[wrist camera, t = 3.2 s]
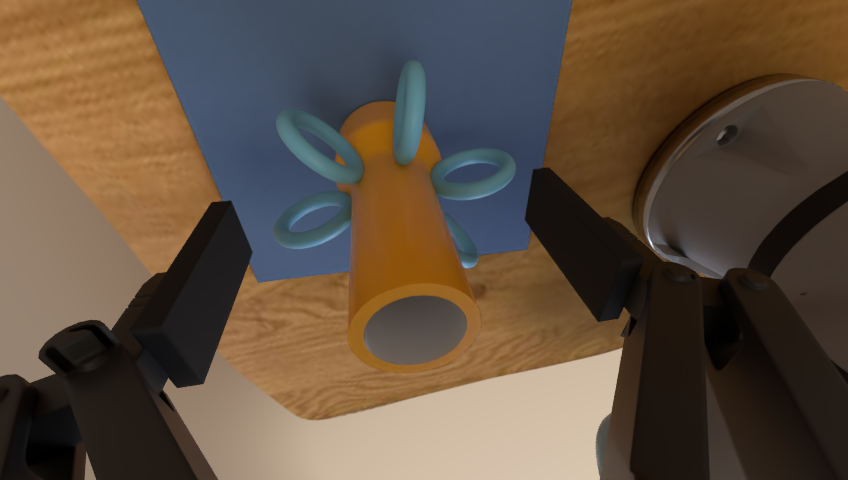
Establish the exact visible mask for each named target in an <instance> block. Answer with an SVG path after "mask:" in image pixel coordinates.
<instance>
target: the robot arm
mask: <svg viewBox="0 0 848 480" xmlns="http://www.w3.org/2000/svg"><path fill="white" fill-rule="evenodd" d="M633 218H634V224H635V227H636V230H637V232H638V234H639V236H640V237H641V238H642V239H643V240H644V241H645V242H646V243H647V244H648V245H649V246H650V247H651V248H652V249H654V250H655V251H656V252H657V253H658V254H659V255H661V256H662V257H663V258H665V259H668V260H670V261H673V262H663V261H662V260H661V259H660V258H659V257H658V256H657V255H656V254H654V253H653V252H652V251H651V250H650V249H649V248H648V247H647V246H646V245H644V244H643V243H642V242H641V241H640V240H637V237H636V236H634V235H633V234H632V233H630V231H629V230H628V229H627V228H626V227H624V226H623V225H622V224H621V223H619V222H617V221H615V220H613V219H611V218H609V217H605V218H602V217H601V216H600V215H599V214H598V213H597V212H595V211H594V210H593V209H592V208H591V207H590V206H589V205H588V204H587V203H586V202H585V201H584V200H583V199H582V198H581V197H580V196H579V195H577V194H576V193H575V192H574V191H573V190H572V189H571V188H570V187H569V186H568V185H567V184H566V183H565V182H564V181H563V180H562V179H561V178H560V177H558V176H557V175H556V174H555V173H554V172H553V171H552V170H551V169H550V168H539V169H533V172H532V178H531V184H530V190H529V196H528V202H527V208H526V214H525V221H526V223H527V224H528V225H529V227H530V228H531V229H532V231H533V232H534V234H535V235H536V236H537V238H538V239H539V241H540V242H541V243H542V245H543V246H544V248H545V249H546V250H547V252H548V253H549V254H550V256H551V257H552V259H553V260H554V261H555V263H556V264H557V266H558V267H559V268H560V270H561V271H562V273H563V274H564V275H565V277H566V278H567V279H568V281H569V282H570V284H571V285H572V286H573V288H574V289H575V291H576V292H577V293H578V295H579V296H580V297H581V299H582V300H583V302H584V303H585V304H586V306H587V307H588V309H589V310H590V311H591V313H592V314H593V316H594V317H595V318H596V320H597V321H598V322H600V321H607V320H613V319H618V318H619V316H620V314H621V312H622V309H623V307H625V308H626V310H627V311H628V312H629V313H630V314H631V315H630V317H629V320H628V322H627V324H626V326H625V328H624V330H623V332H622V334H621V336H622V337H625V339H624V344H623V350H622V356H621V361H620V367H619V374H618V379H617V385H616V390H615V396H614V402H613V407H612V413H611V414H609V415H608V416H607V417H606V418H605V419H604V420H603V421H602V423H601V424H600V426H599V429H598V432H597V437H596V457H597V465H598V470H599V475H600V480H848V92H847V91H845V90H844V89H842V88H841V87H840V86H838V85H836V84H834V83H831V82H827V81H823V80H818V79H813V78H809V77H804V76H799V75H791V74H779V75H771V76H766V77H762V78H758V79H755V80H752V81H749V82H746V83H744V84H742V85H739V86H737V87H735V88H733V89H731V90H729V91H727V92H725V93H723V94H722V95H720V96H718V97H717V98H715V99H714V100H712V101H711V102H709V103H708V104H706V105H705V106H703V107H702V108H701V109H699V110H698V111H697V112H696V113H694V114H693V115H692V116H691V117H690V118H688V119H687V120H686V121H685V122H684V123H683V124H682V125H681V126H680V127H679V128H678V129H677V130H676V131H675V132H674V133H673V134H672V135H671V136H670V137H669V138H668V139H667V141H666V142H665V143H664V144H663V145H662V147H661V148H660V149H659V151H658V152H657V153H656V155H655V156H654V158H653V159H652V161H651V162H650V164H649V166H648V167H647V169H646V171H645V173H644V175H643V177H642V179H641V181H640V184H639V186H638V189H637V192H636V196H635V200H634V207H633ZM252 253H253V251H252V249H251V247H250V244H249V242H248V239H247V237H246V235H245V232H244V230H243V227H242V225H241V223H240V220H239V218H238V216H237V213H236V211H235V208H234V206H233V204H232V201H231V200H230V201H221V202H212V203H211V204H210V206H209V207H208V209H207V210H206V212H205V214H204V215H203V217H202V218H201V220H200V221H199V223H198V224H197V226H196V227H195V229H194V230H193V232H192V234H191V235H190V237H189V238H188V240H187V241H186V243H185V244H184V246H183V247H182V249H181V251H180V252H179V254H178V255H177V257H176V258H175V260H174V261H173V263H172V264H171V266H170V267H169V269H168V271H167V272H164V273H157V274H155V275H154V276H153V277H152V278H151V279H149V280H148V281H147V282H146V283H144V284H143V285H142V287H141V288H140V290H139V291H138V293H137V294H136V296H135V298H134V299H133V300H132V301H131V303H130V304H129V305H128V308H126V310H125V311H124V313H123V314H122V315H121V317H120V318H119V320H118V321H117V323H116V324H115V325H114V327H113V328H112V330H111V331H110V330H109V329H108V327H107V326H106V325H105V324H104V323H102V322H101V321H98V320H88V321H84V322H79V323H77V324H74V325H72V326H69V327H67V328H65V329H64V330H62V331H60V332H59V333H57V334H55V335H54V336H53V337H52V338H50V339H49V340H48V341H47V342H46V343H45V344H44V346H43V347H42V348H41V350H40V351H39V359H40V360H41V361H42V362H43V363H44V364H46V365H47V366H48V367H49V368H50V369H51V370H53V371H54V372H55V373H56V374H54V375H51V376H48V377H45V378H43V379H40V380H37V381H34V382H32V383H29V382H27V381H26V380H25V379H24V378H22V377H20V376H19V375H16V374H14V375H5V376H1V377H0V480H84V477H85V463H86V451H87V454H88V457H89V460H90V463H91V466H92V468H93V471H94V474H95V477H96V480H218V479H217V477H216V476H215V474H214V472H213V470H212V469H211V467H210V465H209V464H208V462H207V460H206V459H205V457H204V455H203V454H202V452H201V450H200V449H199V447H198V445H197V444H196V442H195V440H194V439H193V437H192V435H191V434H190V432H189V430H188V429H187V427H186V425H185V424H184V422H183V420H182V419H181V417H180V415H179V414H178V412H177V410H176V409H175V407H174V405H173V404H172V402H171V400H170V399H169V397H168V396H167V394H166V393H165V392H164V391H163V387H164V385H165V383H166V381H167V379H168V378H169V379H170V380H171V381H172V382H173V384H174V385H175V386H176V387H177V388H181V387H187V386H194V385H200V384H203V383H204V381H205V378H206V376H207V373H208V371H209V368H210V365H211V363H212V360H213V357H214V355H215V352H216V349H217V347H218V344H219V341H220V339H221V336H222V333H223V331H224V328H225V325H226V323H227V320H228V317H229V315H230V312H231V309H232V307H233V304H234V301H235V299H236V296H237V293H238V291H239V288H240V285H241V283H242V280H243V277H244V275H245V272H246V269H247V267H248V264H249V261H250V259H251V256H252ZM674 262H675V263H674ZM693 270H694V271H693ZM695 271H697V272H699V273H702V274H704V275H707V276H709V277H711V278H706V277H700V276H699V275H698V274H697V273H696V272H695Z"/></svg>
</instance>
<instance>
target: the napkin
mask: <svg viewBox="0 0 848 480" xmlns="http://www.w3.org/2000/svg"><path fill="white" fill-rule="evenodd" d="M137 3H138V5H139V7H140V10H141V12H142V14H143V17H144V19H145V21H146V24H147V26H148V28H149V31H150V33H151V35H152V37H153V40H154V42H155V44H156V47H157V49H158V51H159V54H160V56H161V58H162V61H163V63H164V65H165V68H166V70H167V72H168V75H169V77H170V79H171V82H172V84H173V86H174V89H175V91H176V93H177V96H178V98H179V100H180V103H181V105H182V107H183V110H184V112H185V114H186V116H187V119H188V121H189V123H190V126H191V128H192V130H193V133H194V135H195V137H196V140H197V142H198V144H199V147H200V149H201V151H202V154H203V156H204V158H205V161H206V163H207V165H208V168H209V170H210V172H211V175H212V177H213V179H214V182H215V184H216V186H217V189H218V191H219V193H220V195H221V198H222V200H223V201H230V200H231V201H232V204H233V206H234V208H235V211H236V213H237V216H238V218H239V220H240V223H241V225H242V227H243V230H244V232H245V235H246V237H247V239H248V242H249V244H250V247H251V249H252V251H253V253H252V256H251V259H250V261H249V263H250V265H251V267H252V270H253V272H254V274H255V277H256V279H257V281H258V282H266V281H274V280H282V279H290V278H298V277H306V276H314V275H322V274H331V273H339V272H347V271H350V247H351V224H350V225H349V226H348V227H347V228H346V229H345V230H344V231H343V232H342V233H340V234H339V235H337V236H336V237H334V238H333V239H331V240H329V241H327V242H325V243H322V244H320V245H317V246H313V247H309V248H304V249H291V248H286V247H284V246H282V245H280V244H279V243H278V242H277V241H276V240H275V238H274V236H273V227H274V224H275V222H276V220H277V219H278V218H279V216H280V215H281V214H282V213H283V212H284V211H285V210H286V209H288V208H289V207H290V206H292V205H293V204H295V203H297V202H298V201H300V200H302V199H304V198H306V197H309V196H312V195H314V194H318V193H322V192H328V191H339V190H338V187H337V185H336V182H334V181H332V180H329V179H327V178H325V177H323V176H322V175H320V174H318V173H317V172H315V171H313V170H312V169H311V168H309V167H308V166H307V165H305V164H304V163H303V162H302V161H300V160H299V159H298V158H297V157H296V156H295V155H294V154H293V153H292V152H291V151H290V150H289V148H288V147H287V146H286V145H285V143H284V142H283V141H282V139H281V137H280V135H279V133H278V131H277V127H276V119H277V116H278V115H279V113H280V112H282V111H283V110H286V109H298V110H302V111H305V112H307V113H310V114H312V115H314V116H316V117H317V118H319V119H321V120H322V121H324V122H325V123H327V124H328V125H330V126H331V127H332V128H334V129H335V130H336V131H337V132H338V133H340V130H341V127H342V125H343V124H344V122H345V120H346V119H347V118H348V117H349V115H350V114H351V113H353V112H354V111H355V110H356V109H358V108H360V107H361V106H363V105H365V104H368V103H371V102H375V101H393V102H396V95H397V89H398V84H399V79H400V75H401V71H402V69H403V67H404V65H405V64H406V63H407V62H408V61H410V60H417V61H418V62H420V63H421V64H422V66H423V68H424V71H425V77H426V101H425V113H424V122H425V124H426V125H427V127H428V129H429V131H430V133H431V135H432V137H433V139H434V141H435V143H436V145H437V147H438V149H439V152H440V155H441V159H442V160H443V159H444V158H446V157H448V156H450V155H452V154H455V153H457V152H461V151H464V150H469V149H475V148H493V149H498V150H501V151H504V152H506V153H508V154H509V155H510V156H511V157H512V158H513V159H514V161H515V164H516V171H515V175H514V177H513V178H512V180H511V181H510V182H509V183H508V184H507V185H506V186H505V187H504V188H502V189H501V190H499V191H497V192H495V193H493V194H491V195H488V196H485V197H482V198H478V199H472V200H451V199H446V198H443V197H441V196H439V195H437V194H436V195H437V197H438V200H439V203H440V206H441V208H442V211H444V212H445V213H446V214H448V215H449V216H450V217H452V218H453V219H454V220H455V221H456V222H457V223H458V224H459V225H460V226H461V227H462V228H463V229H464V231H465V232H466V233H467V234H468V236H469V237H470V238H471V240H472V241H473V243H474V245H475V246H476V249H477V251H478V255H485V254H493V253H501V252H509V251H517V250H525V249H527V248H528V243H529V237H530V232H531V228H530V227H529V225H528V224H527V223H526V221H525V214H526V208H527V202H528V196H529V190H530V184H531V178H532V172H533V169H539V168H542V166H543V160H544V154H545V149H546V143H547V138H548V132H549V127H550V121H551V116H552V110H553V105H554V99H555V94H556V88H557V83H558V77H559V72H560V66H561V61H562V55H563V50H564V44H565V38H566V33H567V27H568V22H569V16H570V11H571V5H572V0H137ZM298 129H299V130H300V132H301V133H302V134H303V136H304V137H305V138H306V139H307V140H308V141H309V142H310V143H311V144H312V145H313V146H314V147H315V148H317V149H318V150H319V151H320V152H322V153H323V154H324V155H326V156H327V157H329V158H330V159H332V160H334V161H335V156H336V151H335V150H334V149H332V148H331V147H330V146H329V145H328V144H327V143H325V142H324V141H323V140H321V139H320V138H318V137H317V136H315V135H314V134H312V133H310V132H308V131H306V130H303V129H301V128H298ZM498 169H499V167H498V166H496V165H493V164H489V163H475V164H469V165H465V166H462V167H459V168H457V169H455V170H453V171H451V172H450V173H448V174H447V175H446V176H445V178H444V180H446V181H448V182H451V183H470V182H475V181H479V180H482V179H485V178H487V177H489V176H491V175H493V174H494V173H496V172H497V171H498ZM340 210H341V207H340V206H326V207H322V208H319V209H316V210H314V211H311V212H309V213H307V214H306V215H304V216H303V217H301V218H300V219H298V220H297V221H296V222H295V223H294V224H293V226H292V227H291V229H290V231H291V232H303V231H308V230H311V229H314V228H316V227H319V226H321V225H323V224H325V223H326V222H328V221H329V220H331V219H332V218H333V217H335V216H336V215H337V214H338V213H339V211H340ZM452 238H453V236H452ZM453 241H454V244H455V246H456V247H458V248H459V249H460V250H462V248H461V247H460V245H459V244H458V243H457V241H456V240H455V239H454V238H453ZM462 251H463V250H462Z"/></svg>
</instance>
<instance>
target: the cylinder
mask: <svg viewBox="0 0 848 480" xmlns="http://www.w3.org/2000/svg"><path fill="white" fill-rule="evenodd" d="M425 101H426V77H425V71H424V68H423V66H422V64H421V63H420V62H418V61H417V60H410V61H408V62H407V63H406V64H405V65H404V67H403V69H402V71H401V75H400V79H399V84H398V89H397V95H396V102H393V101H375V102H371V103H368V104H365V105H363V106H361V107H360V108H358V109H356V110H355V111H354V112H353V113H351V114H350V115H349V117H348V118H347V119H346V120H345V122H344V124H343V125H342V127H341V130H340V133H338V132H337V131H336V130H335V129H334V128H332V127H331V126H330V125H328V124H327V123H325V122H324V121H322V120H321V119H319V118H317V117H316V116H314V115H312V114H310V113H307V112H305V111H302V110H298V109H286V110H283V111H282V112H280V113H279V115H278V116H277V119H276V127H277V131H278V133H279V135H280V137H281V139H282V141H283V142H284V143H285V145H286V146H287V147H288V148H289V150H290V151H291V152H292V153H293V154H294V155H295V156H296V157H297V158H298V159H299V160H300V161H302V162H303V163H304V164H305V165H307V166H308V167H309V168H311V169H312V170H313V171H315V172H317V173H318V174H320V175H322V176H323V177H325V178H327V179H329V180H332V181H334V182H336V185H337V187H338V190H339V191H328V192H322V193H318V194H314V195H312V196H309V197H306V198H304V199H302V200H300V201H298V202H297V203H295V204H293V205H292V206H290V207H289V208H288V209H286V210H285V211H284V212H283V213H282V214H281V215H280V216H279V218H278V219H277V220H276V222H275V224H274V227H273V236H274V238H275V240H276V241H277V242H278V243H279V244H280V245H282V246H284V247H286V248H291V249H304V248H309V247H313V246H317V245H320V244H322V243H325V242H327V241H329V240H331V239H333V238H334V237H336V236H337V235H339V234H340V233H342V232H343V231H344V230H345V229H346V228H347V227H348V226H349V225H350V224H351V247H350V281H349V314H348V342H349V345H350V348H351V350H352V351H353V353H354V354H355V355H356V357H357V358H359V359H360V360H361V361H362V362H364V363H365V364H367V365H369V366H371V367H373V368H376V369H379V370H382V371H387V372H393V373H414V372H421V371H426V370H430V369H434V368H437V367H439V366H442V365H444V364H447V363H449V362H451V361H452V360H454V359H456V358H457V357H459V356H460V355H461V354H463V353H464V352H465V351H466V350H467V349H468V348H469V347H470V346H471V345H472V344H473V343H474V341H475V340H476V338H477V336H478V334H479V331H480V328H481V314H480V311H479V308H478V305H477V303H476V300H475V297H474V295H473V292H472V289H471V286H470V284H469V281H468V278H467V276H466V273H465V270H464V268H472V267H474V266H475V265H476V264H477V263H478V260H479V255H478V251H477V249H476V246H475V245H474V243H473V241H472V240H471V238H470V237H469V236H468V234H467V233H466V232H465V231H464V229H463V228H462V227H461V226H460V225H459V224H458V223H457V222H456V221H455V220H454V219H453V218H452V217H450V216H449V215H448V214H446V213H445V212H444V211H442V208H441V206H440V203H439V200H438V197H437V195H439V196H441V197H443V198H446V199H451V200H472V199H478V198H482V197H485V196H488V195H491V194H493V193H495V192H497V191H499V190H501V189H502V188H504V187H505V186H506V185H507V184H508V183H509V182H510V181H511V180H512V178H513V177H514V175H515V171H516V164H515V161H514V159H513V158H512V157H511V156H510V155H509V154H508V153H506V152H504V151H501V150H498V149H493V148H475V149H469V150H464V151H461V152H457V153H455V154H452V155H450V156H448V157H446V158H444V159H443V160H442V159H441V155H440V152H439V149H438V147H437V145H436V143H435V141H434V139H433V137H432V135H431V133H430V131H429V129H428V127H427V125H426V124H425V122H424V113H425ZM298 128H301V129H303V130H306V131H308V132H310V133H312V134H314V135H315V136H317V137H318V138H320V139H321V140H323V141H324V142H325V143H327V144H328V145H329V146H330V147H331V148H332V149H334V150H335V151H336V156H335V161H334V160H332V159H330V158H329V157H327V156H326V155H324V154H323V153H322V152H320V151H319V150H318V149H317V148H315V147H314V146H313V145H312V144H311V143H310V142H309V141H308V140H307V139H306V138H305V137H304V136H303V134H302V133H301V132H300V130H299V129H298ZM475 163H489V164H493V165H496V166H498V167H499V169H498V171H497V172H496V173H494V174H493V175H491V176H489V177H487V178H485V179H482V180H479V181H475V182H470V183H451V182H448V181H446V180H444V178H445V176H446V175H447V174H448V173H450V172H451V171H453V170H455V169H457V168H459V167H462V166H465V165H469V164H475ZM436 194H437V195H436ZM326 206H340V207H341V210H340V211H339V213H338V214H337V215H336V216H335V217H333V218H332V219H331V220H329V221H328V222H326V223H325V224H323V225H321V226H319V227H316V228H314V229H311V230H308V231H303V232H291V231H290V229H291V227H292V226H293V224H294V223H295V222H296V221H297V220H298V219H300V218H301V217H303V216H304V215H306V214H307V213H309V212H311V211H314V210H316V209H319V208H322V207H326ZM452 236H453V238H454V239H455V240H456V241H457V243H458V244H459V245H460V247H461V248H462V250H463V251H462V250H460V249H459V248H458V247H456V246H455V244H454V241H453V238H452Z"/></svg>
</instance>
